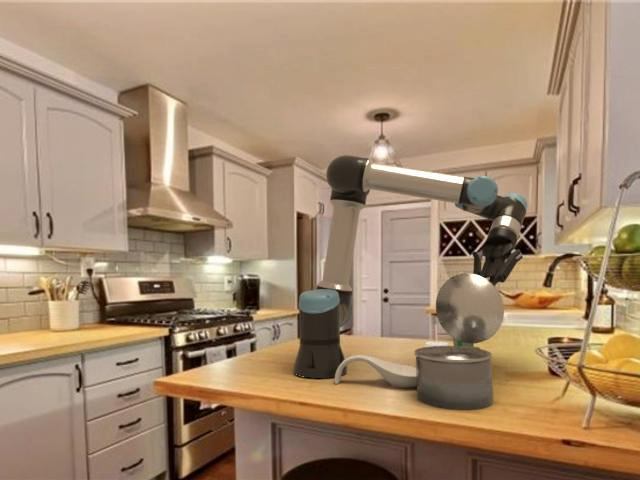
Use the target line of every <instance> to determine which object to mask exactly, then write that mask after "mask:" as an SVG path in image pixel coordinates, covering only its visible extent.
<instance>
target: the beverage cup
mask: <svg viewBox="0 0 640 480" xmlns="http://www.w3.org/2000/svg"><path fill="white" fill-rule="evenodd" d="M434 329H435V334H434V336H435V340H434V341H426V342H425V343H424V345H425V346H424V347H431V346H450V345H449V344H450V343H449V342H446V341H439V340H438V324H436V323H435V324H434Z"/></svg>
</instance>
